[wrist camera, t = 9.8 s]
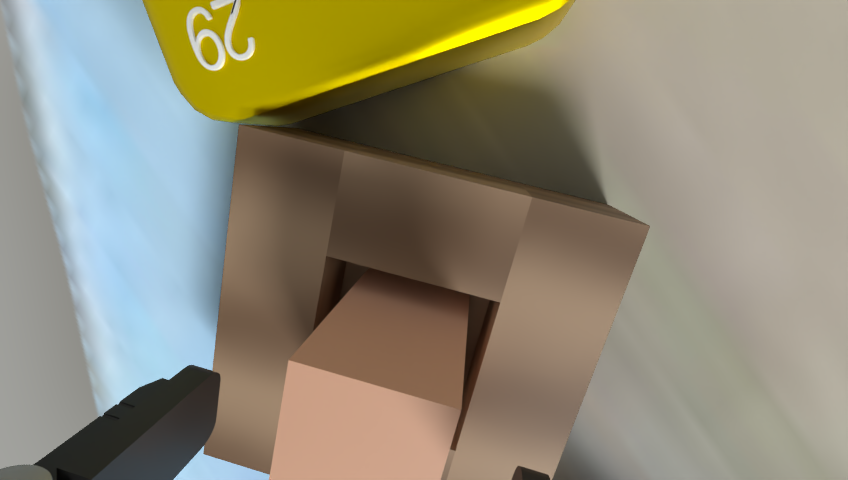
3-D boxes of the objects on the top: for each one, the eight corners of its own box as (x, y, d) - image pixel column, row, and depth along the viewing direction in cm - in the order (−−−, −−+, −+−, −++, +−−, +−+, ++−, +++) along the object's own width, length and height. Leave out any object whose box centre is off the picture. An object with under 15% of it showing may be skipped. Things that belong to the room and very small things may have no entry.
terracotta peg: (371, 265, 18) (288, 360, 10) (470, 291, 18) (461, 410, 10) (352, 353, 19) (266, 498, 11) (445, 379, 19) (420, 546, 11)
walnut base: (295, 128, 18) (238, 124, 14) (608, 204, 17) (650, 226, 13) (257, 392, 22) (203, 453, 18) (514, 468, 21) (523, 553, 17)
